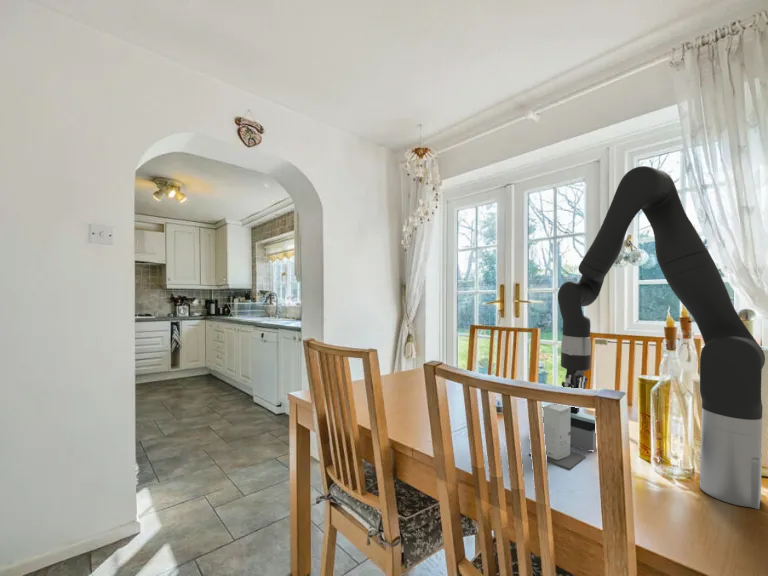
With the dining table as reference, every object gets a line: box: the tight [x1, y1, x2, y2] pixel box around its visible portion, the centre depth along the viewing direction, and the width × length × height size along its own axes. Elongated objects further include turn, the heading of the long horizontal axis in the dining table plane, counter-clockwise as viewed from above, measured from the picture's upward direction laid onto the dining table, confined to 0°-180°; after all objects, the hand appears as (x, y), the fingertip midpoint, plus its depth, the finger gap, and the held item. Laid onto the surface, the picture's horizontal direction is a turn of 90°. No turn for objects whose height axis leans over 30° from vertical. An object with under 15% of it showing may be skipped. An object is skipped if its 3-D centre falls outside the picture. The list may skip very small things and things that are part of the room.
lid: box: [541, 406, 595, 423], centre depth 106 cm, size 14×12×1 cm
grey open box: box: [570, 417, 597, 451], centre depth 106 cm, size 14×12×5 cm
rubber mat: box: [528, 450, 587, 471], centre depth 94 cm, size 10×10×1 cm
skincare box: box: [542, 403, 571, 460], centre depth 94 cm, size 6×4×12 cm
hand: (574, 412), depth 106 cm, fingers closed
